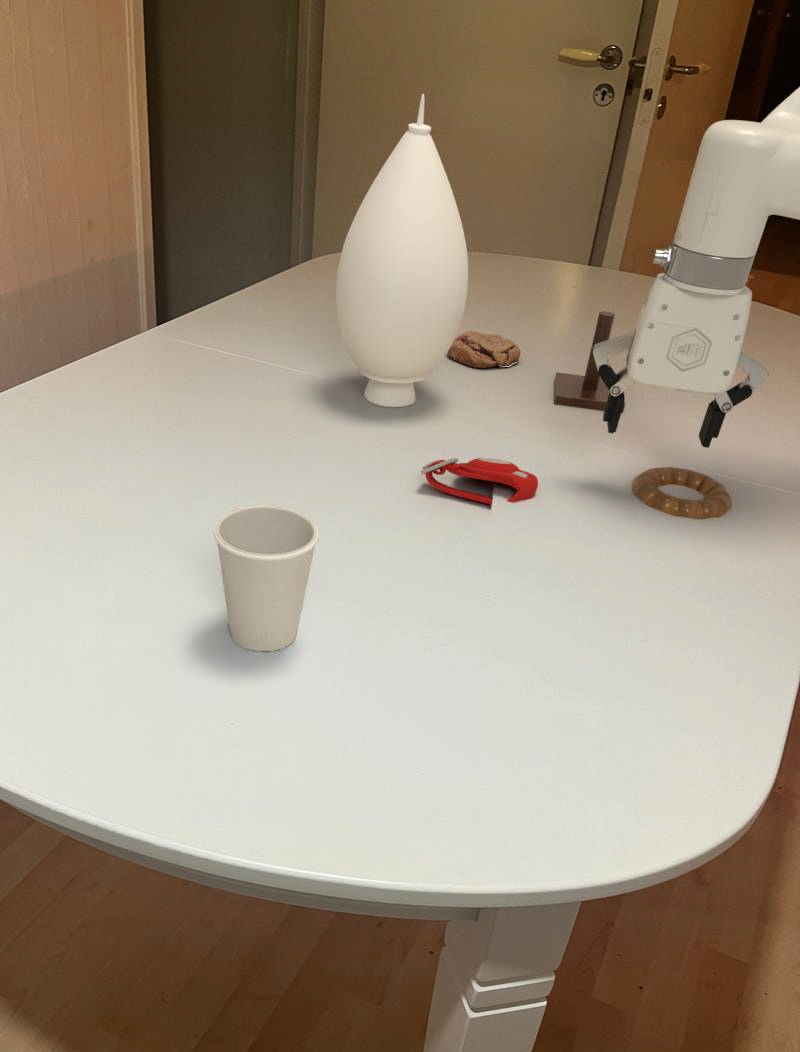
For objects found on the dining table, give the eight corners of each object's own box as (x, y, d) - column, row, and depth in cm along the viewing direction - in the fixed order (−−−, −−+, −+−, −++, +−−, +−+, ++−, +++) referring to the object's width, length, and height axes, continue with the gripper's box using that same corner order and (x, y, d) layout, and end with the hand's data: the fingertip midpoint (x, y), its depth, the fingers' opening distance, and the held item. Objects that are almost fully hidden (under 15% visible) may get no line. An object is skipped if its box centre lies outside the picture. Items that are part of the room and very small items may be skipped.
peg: (619, 388, 134) (640, 307, 127) (623, 413, 126) (645, 328, 120) (554, 380, 135) (571, 299, 128) (554, 403, 128) (572, 319, 121)
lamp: (421, 372, 134) (457, 85, 113) (469, 417, 122) (520, 105, 101) (314, 378, 130) (331, 81, 109) (352, 426, 118) (380, 102, 97)
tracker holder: (493, 454, 111) (559, 468, 103) (487, 492, 112) (551, 509, 104) (414, 450, 103) (479, 465, 96) (408, 491, 105) (472, 509, 97)
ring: (719, 491, 109) (726, 470, 107) (733, 535, 101) (741, 513, 99) (626, 478, 110) (632, 457, 109) (632, 520, 102) (638, 498, 100)
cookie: (529, 369, 138) (533, 348, 136) (460, 371, 135) (464, 350, 134) (502, 345, 146) (506, 325, 144) (437, 347, 143) (439, 327, 141)
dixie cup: (223, 599, 85) (223, 499, 79) (317, 609, 85) (324, 509, 79) (205, 655, 78) (203, 550, 72) (306, 666, 78) (313, 561, 72)
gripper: (618, 266, 89) (575, 436, 99) (809, 291, 87) (746, 462, 97) (614, 247, 95) (574, 410, 105) (793, 270, 93) (735, 434, 103)
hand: (656, 435), depth 101 cm, fingers open, 9 cm apart
